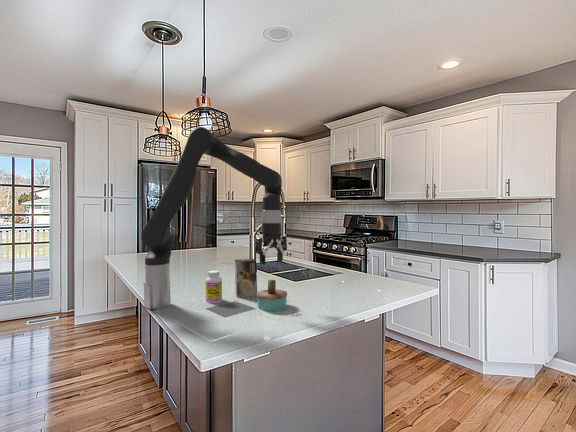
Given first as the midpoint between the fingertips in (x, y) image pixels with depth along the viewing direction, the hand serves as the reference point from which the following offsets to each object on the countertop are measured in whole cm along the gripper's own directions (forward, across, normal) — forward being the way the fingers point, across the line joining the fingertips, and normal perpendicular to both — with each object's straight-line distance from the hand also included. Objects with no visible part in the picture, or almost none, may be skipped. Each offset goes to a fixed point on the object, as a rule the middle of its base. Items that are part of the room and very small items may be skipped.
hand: (271, 263), depth 128 cm
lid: (+13, 0, 0) cm, 13 cm away
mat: (+18, -13, +9) cm, 24 cm away
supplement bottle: (+18, -12, +23) cm, 32 cm away
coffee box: (+18, +3, +21) cm, 28 cm away
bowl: (+18, 0, 0) cm, 18 cm away
